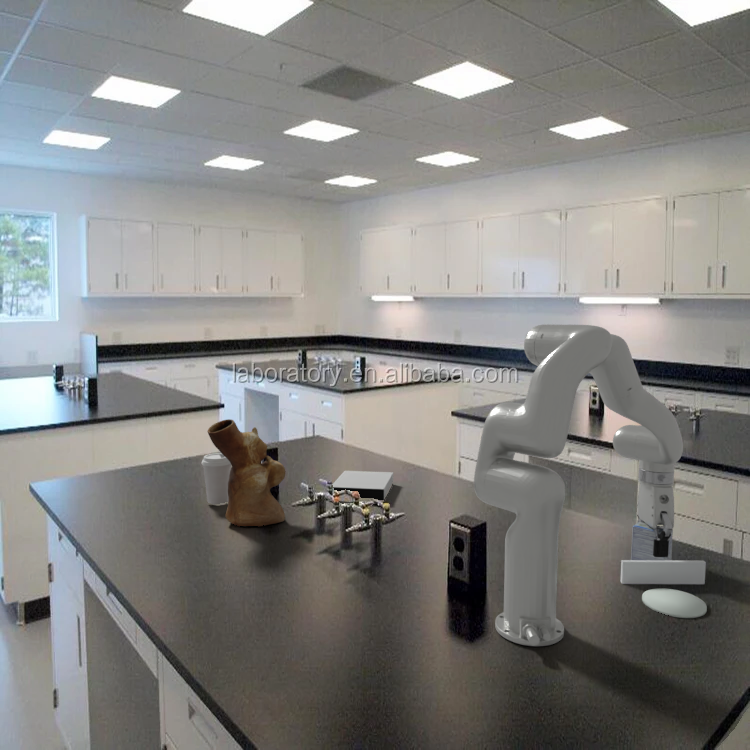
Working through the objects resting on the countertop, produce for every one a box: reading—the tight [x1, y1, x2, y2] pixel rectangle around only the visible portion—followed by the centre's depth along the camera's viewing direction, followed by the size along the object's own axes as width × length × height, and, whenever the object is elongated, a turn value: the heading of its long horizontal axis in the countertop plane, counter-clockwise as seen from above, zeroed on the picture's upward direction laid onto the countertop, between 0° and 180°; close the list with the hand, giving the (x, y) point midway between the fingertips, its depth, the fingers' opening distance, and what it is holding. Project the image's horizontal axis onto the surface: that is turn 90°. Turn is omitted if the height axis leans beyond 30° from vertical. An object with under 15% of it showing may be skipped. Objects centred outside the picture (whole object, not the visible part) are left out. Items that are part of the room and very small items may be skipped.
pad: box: [641, 587, 708, 619], centre depth 130 cm, size 12×12×1 cm
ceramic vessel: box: [207, 419, 287, 527], centre depth 179 cm, size 16×22×30 cm
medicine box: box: [630, 521, 674, 560], centre depth 149 cm, size 8×4×9 cm, turn 48°
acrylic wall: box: [620, 559, 707, 585], centre depth 140 cm, size 1×18×5 cm, turn 89°
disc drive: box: [331, 470, 394, 500], centre depth 210 cm, size 18×22×5 cm
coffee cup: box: [200, 452, 232, 504], centre depth 198 cm, size 10×10×15 cm
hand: (652, 549), depth 149 cm, fingers closed on medicine box, 8 cm apart
